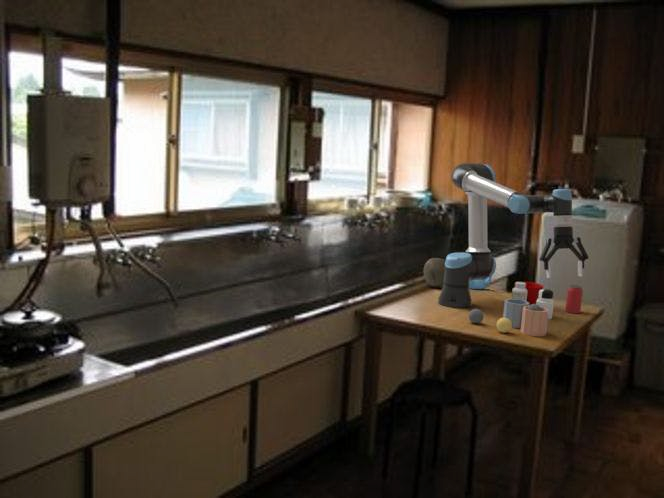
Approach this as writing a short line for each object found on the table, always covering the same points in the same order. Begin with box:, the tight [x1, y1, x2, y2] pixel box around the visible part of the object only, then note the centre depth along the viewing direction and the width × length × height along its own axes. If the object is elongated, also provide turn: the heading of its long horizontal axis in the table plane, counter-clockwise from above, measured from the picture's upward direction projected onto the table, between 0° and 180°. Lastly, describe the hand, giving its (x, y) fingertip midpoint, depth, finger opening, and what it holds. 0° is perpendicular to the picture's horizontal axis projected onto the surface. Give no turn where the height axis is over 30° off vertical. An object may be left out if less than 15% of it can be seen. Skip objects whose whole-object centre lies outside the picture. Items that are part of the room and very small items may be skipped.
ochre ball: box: [496, 317, 513, 334], centre depth 294 cm, size 6×6×6 cm
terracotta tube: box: [519, 306, 549, 337], centre depth 296 cm, size 10×10×10 cm
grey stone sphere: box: [422, 257, 446, 289], centre depth 374 cm, size 14×14×15 cm
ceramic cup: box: [522, 281, 544, 306], centre depth 347 cm, size 13×17×10 cm
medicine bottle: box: [536, 288, 555, 320], centre depth 325 cm, size 7×7×12 cm
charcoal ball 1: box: [468, 308, 485, 324], centre depth 306 cm, size 6×6×6 cm
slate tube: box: [502, 298, 529, 329], centre depth 306 cm, size 10×10×10 cm
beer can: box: [565, 284, 584, 314], centre depth 337 cm, size 7×7×12 cm
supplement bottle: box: [511, 281, 527, 301], centre depth 333 cm, size 7×7×13 cm
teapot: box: [469, 275, 493, 290], centre depth 379 cm, size 15×15×10 cm
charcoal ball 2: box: [527, 304, 542, 311], centre depth 296 cm, size 6×6×6 cm
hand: (564, 277), depth 307 cm, fingers open, 13 cm apart
